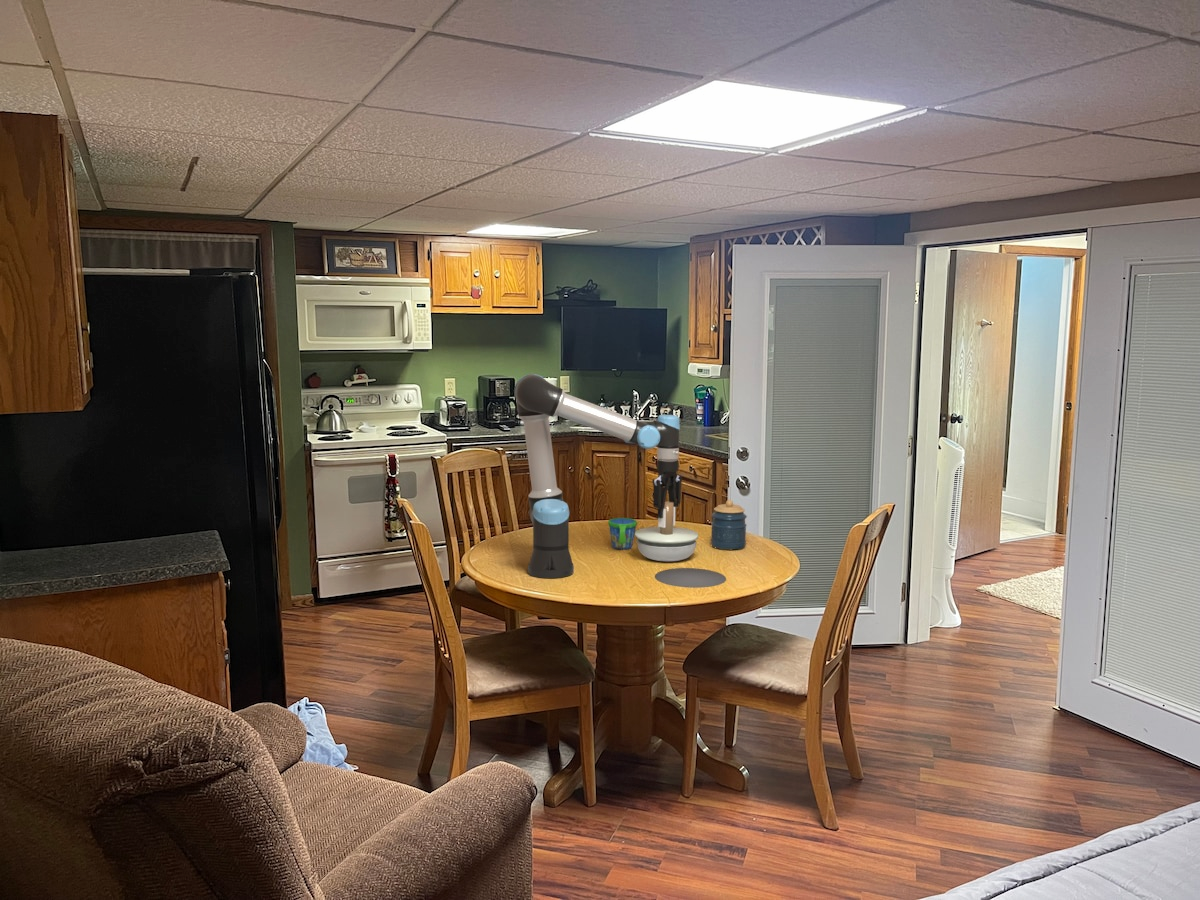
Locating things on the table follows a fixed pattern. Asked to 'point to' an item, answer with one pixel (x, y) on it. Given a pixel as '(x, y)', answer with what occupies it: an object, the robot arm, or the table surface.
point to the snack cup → (622, 532)
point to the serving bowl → (666, 550)
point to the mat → (690, 577)
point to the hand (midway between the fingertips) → (666, 525)
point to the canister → (728, 526)
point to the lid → (667, 531)
